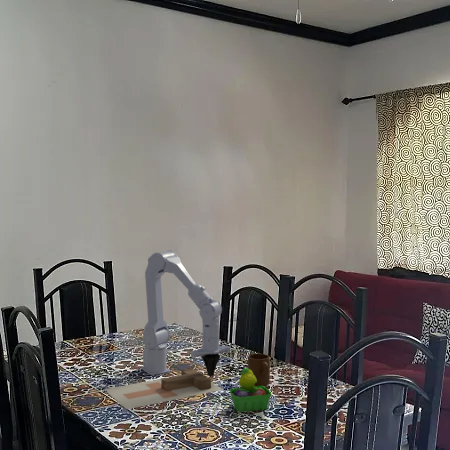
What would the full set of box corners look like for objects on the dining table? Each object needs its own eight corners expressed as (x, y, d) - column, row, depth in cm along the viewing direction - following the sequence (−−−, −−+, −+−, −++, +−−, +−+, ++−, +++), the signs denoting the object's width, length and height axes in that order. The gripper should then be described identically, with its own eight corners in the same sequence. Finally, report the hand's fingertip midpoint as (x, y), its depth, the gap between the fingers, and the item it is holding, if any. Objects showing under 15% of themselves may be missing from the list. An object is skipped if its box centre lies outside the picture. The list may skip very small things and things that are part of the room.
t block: (155, 383, 194) (155, 374, 194) (191, 376, 201) (191, 368, 201) (173, 395, 182) (173, 386, 182) (211, 388, 189) (211, 379, 189)
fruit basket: (235, 414, 167) (236, 376, 167) (227, 403, 176) (227, 367, 175) (272, 410, 170) (272, 373, 170) (262, 400, 179) (262, 365, 178)
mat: (104, 390, 187) (104, 389, 187) (194, 374, 205) (194, 372, 205) (126, 410, 170) (126, 409, 170) (223, 390, 188) (223, 389, 188)
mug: (277, 390, 188) (278, 362, 187) (256, 392, 185) (256, 364, 185) (265, 379, 199) (265, 352, 199) (244, 380, 197) (244, 354, 196)
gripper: (197, 341, 189) (197, 381, 190) (234, 336, 197) (234, 374, 197) (188, 337, 195) (187, 376, 196) (224, 332, 203) (223, 369, 203)
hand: (210, 375), depth 197 cm, fingers closed
